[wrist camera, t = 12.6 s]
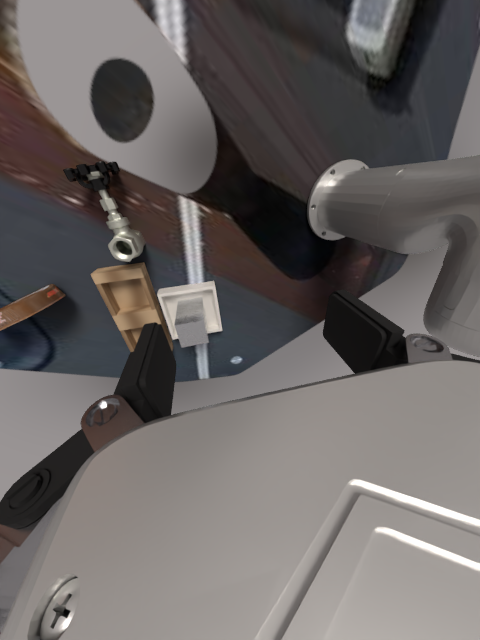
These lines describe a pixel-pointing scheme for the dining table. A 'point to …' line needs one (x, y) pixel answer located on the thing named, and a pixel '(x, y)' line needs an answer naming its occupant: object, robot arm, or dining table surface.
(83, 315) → the dining table surface
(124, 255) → the valve
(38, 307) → the tin
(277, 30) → the dining table surface
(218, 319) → the dish
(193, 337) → the gray rectangular block
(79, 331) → the dining table surface
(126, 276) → the wooden compartment tray
